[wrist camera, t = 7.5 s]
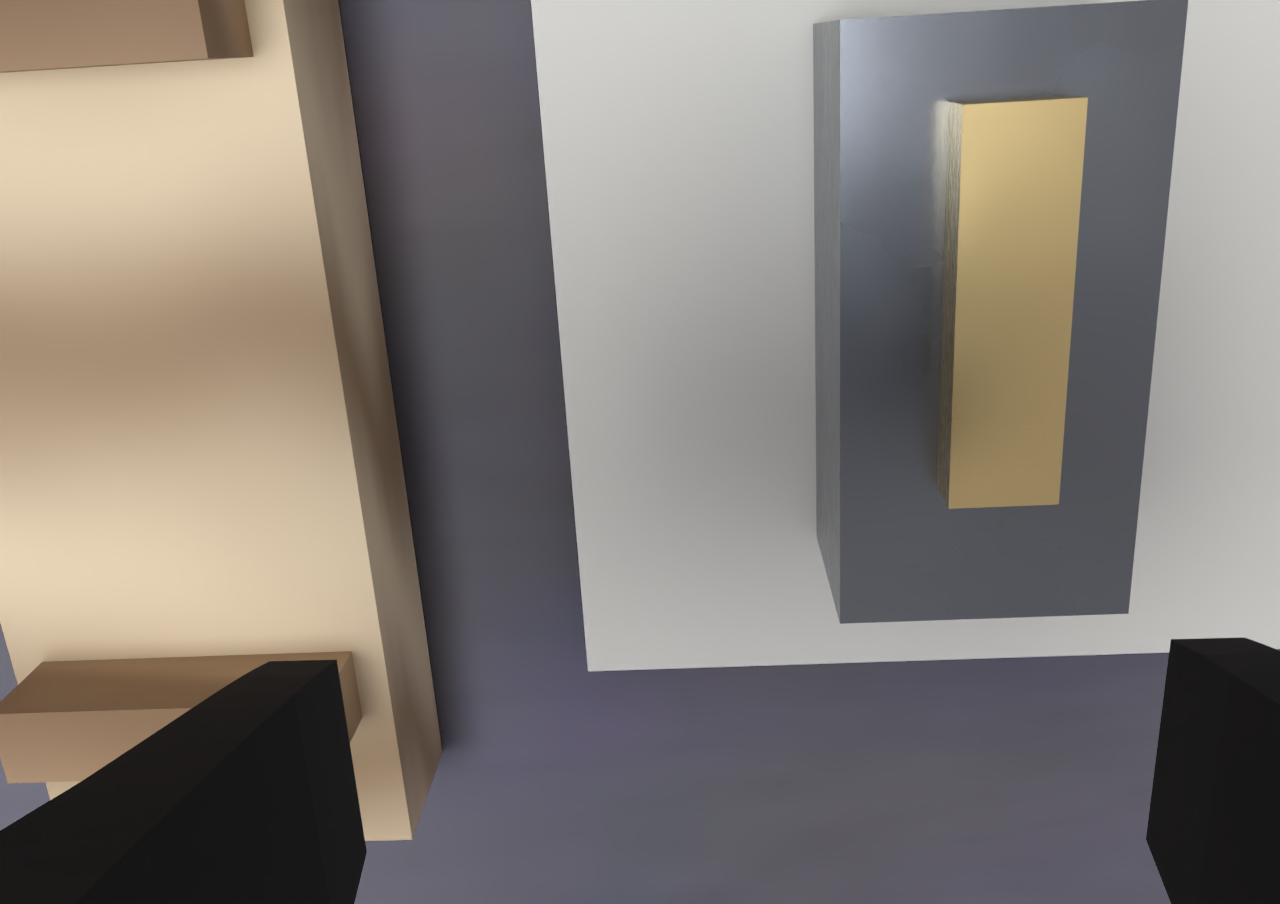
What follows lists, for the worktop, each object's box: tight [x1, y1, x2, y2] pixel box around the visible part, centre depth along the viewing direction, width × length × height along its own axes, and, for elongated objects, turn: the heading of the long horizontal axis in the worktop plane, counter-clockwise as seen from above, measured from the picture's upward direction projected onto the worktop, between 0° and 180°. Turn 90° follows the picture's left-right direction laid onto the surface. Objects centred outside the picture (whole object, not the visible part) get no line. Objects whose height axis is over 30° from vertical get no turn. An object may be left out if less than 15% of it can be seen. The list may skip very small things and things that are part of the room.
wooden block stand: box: [0, 0, 442, 841], centre depth 16 cm, size 16×6×6 cm, turn 3°
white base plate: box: [531, 0, 1280, 671], centre depth 18 cm, size 12×12×1 cm
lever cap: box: [813, 0, 1188, 624], centre depth 16 cm, size 8×4×4 cm, turn 3°
